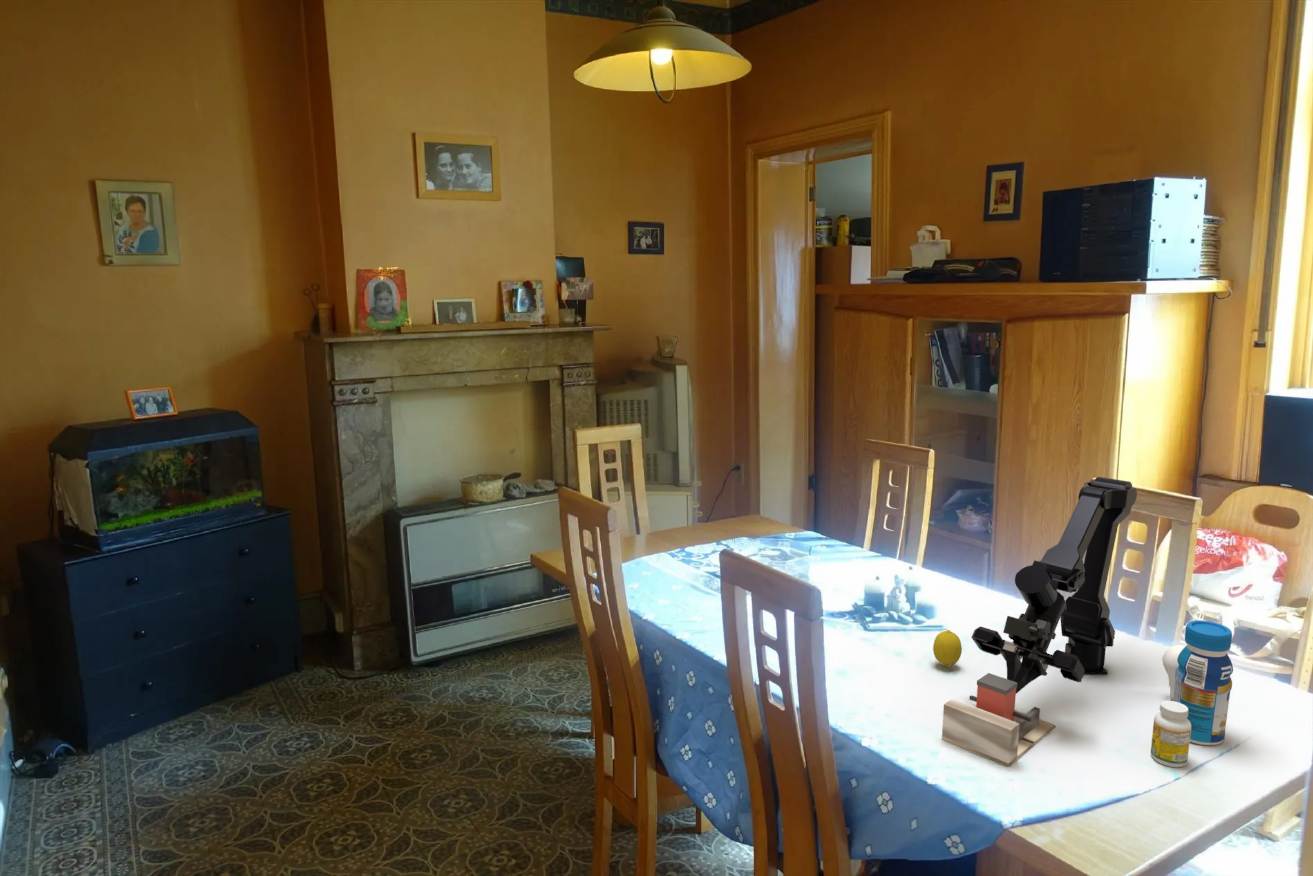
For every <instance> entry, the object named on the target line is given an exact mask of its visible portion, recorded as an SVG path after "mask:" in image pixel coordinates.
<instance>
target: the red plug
mask: <svg viewBox="0 0 1313 876" xmlns="http://www.w3.org/2000/svg"><path fill="white" fill-rule="evenodd" d="M976 685H977V687H976V688H977V689H976V691H977V692H976V696H974V695H969V700H970V701H972V702H975V703H976V705H975V707H977V708H979V709H982V710H985V711H987V712H990V713H993V714H995V715H998V716H1001V717H1003V718H1006V719H1009V720H1011V721H1014V716H1015V717H1018V718H1021V719H1024V720H1026V721H1029V722H1030V721H1031V720H1032V717H1029V716H1027V715H1024V714H1021V713H1018V712H1016V711H1015V710H1016V709H1015V708H1016V695H1017V694H1016V688H1017V682H1014V681H1011V680H1008V679H1007V678H1004V677H1001V676H999V675H996V674H994V673H990V672H988V673H986V674H985V675H983V676H982V677H979V679H978V680H976Z"/></svg>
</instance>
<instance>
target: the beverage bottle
mask: <svg viewBox="0 0 1313 876" xmlns="http://www.w3.org/2000/svg"><path fill="white" fill-rule="evenodd" d="M1232 640H1233V632H1232V630H1231V629H1230V628H1229V627H1227V626H1226V625H1223V624H1220V623H1218V622H1213V621H1208V620H1199V619H1197V620H1191V621H1189V622H1187V623H1186V626H1185V633H1184V642H1185V644H1186V645H1185V646H1186V647H1185V648H1184V649H1183V650H1182V651H1181V652H1180V654H1179V656H1178V658H1177V662H1178V664H1179V666H1178V667H1177V669H1176V671H1175V687H1174V697H1173V699H1172V701H1175V702H1179V703H1181V704H1183V705H1185V706H1186V707H1187V708H1188V717H1187V719H1188V720H1189V721H1190V723H1191V734H1190V743H1193V744H1196V745H1200V746H1216V745H1220V744H1221V743H1223V741H1225V738H1226V737H1225V736H1226V726H1227V719H1228V713H1229V711H1228V710H1229V704H1230V703H1229V702H1230V696H1231V691H1232V688H1233V680H1232V677H1231V676H1232V674H1233V672H1234V667H1233V663H1232V662H1233V661H1232V660H1231V657H1229V656H1230V655H1228V652H1229V651H1230V650H1231V647H1232V642H1233V641H1232Z"/></svg>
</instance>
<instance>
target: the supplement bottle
mask: <svg viewBox="0 0 1313 876" xmlns="http://www.w3.org/2000/svg"><path fill="white" fill-rule="evenodd" d="M1187 717H1188V708H1187V707H1186V706H1185V705H1183V704H1181V703H1179V702H1175V701H1173V700H1163V701H1160V704H1159V712H1158V713H1156V714H1155V715H1154V718H1153V726H1152V737H1151V746H1150V757H1152V758H1153V760H1154V761H1156V763H1158V764H1161V765H1162V766H1163V765H1164V766H1165V767H1171V768H1182V767H1184V766H1186V765H1187V764H1188V758H1189V750H1190V743H1191V742H1190V734H1191V723H1190V721H1189V720H1188V719H1187Z"/></svg>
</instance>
